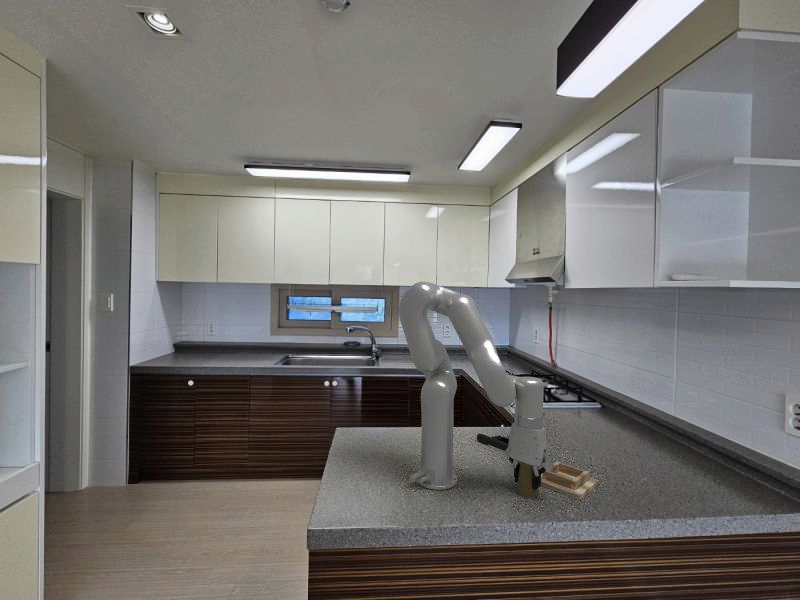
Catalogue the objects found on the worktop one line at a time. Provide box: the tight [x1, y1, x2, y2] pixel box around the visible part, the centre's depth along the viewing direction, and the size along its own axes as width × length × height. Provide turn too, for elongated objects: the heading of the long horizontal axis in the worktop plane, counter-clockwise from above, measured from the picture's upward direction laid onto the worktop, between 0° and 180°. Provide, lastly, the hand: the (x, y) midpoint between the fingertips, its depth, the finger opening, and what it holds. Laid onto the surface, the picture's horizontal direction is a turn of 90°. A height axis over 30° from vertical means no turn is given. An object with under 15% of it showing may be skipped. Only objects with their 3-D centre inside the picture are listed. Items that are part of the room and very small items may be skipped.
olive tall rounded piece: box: [515, 461, 539, 499], centre depth 116 cm, size 6×6×11 cm
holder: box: [540, 461, 600, 501], centre depth 122 cm, size 14×14×4 cm
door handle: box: [476, 433, 510, 453], centre depth 151 cm, size 3×20×16 cm
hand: (527, 483), depth 116 cm, fingers open, 4 cm apart
